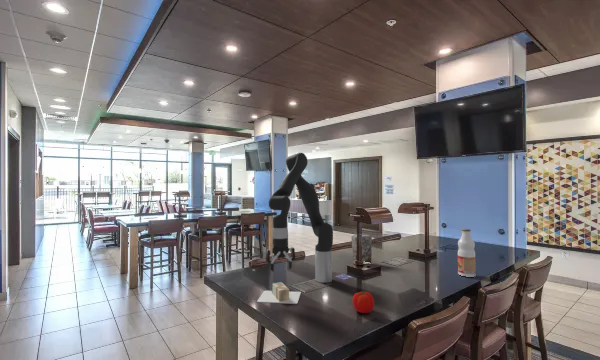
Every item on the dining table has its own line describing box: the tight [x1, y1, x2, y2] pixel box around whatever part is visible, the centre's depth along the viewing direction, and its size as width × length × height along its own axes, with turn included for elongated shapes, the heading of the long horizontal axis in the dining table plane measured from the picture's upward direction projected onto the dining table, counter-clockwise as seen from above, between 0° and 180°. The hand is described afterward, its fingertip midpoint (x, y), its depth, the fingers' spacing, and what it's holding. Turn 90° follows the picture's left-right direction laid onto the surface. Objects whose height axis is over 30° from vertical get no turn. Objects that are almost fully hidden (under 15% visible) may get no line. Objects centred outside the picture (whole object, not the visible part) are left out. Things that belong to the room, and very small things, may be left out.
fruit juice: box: [457, 228, 477, 278], centre depth 183 cm, size 9×9×28 cm
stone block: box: [351, 234, 373, 264], centre depth 212 cm, size 13×7×20 cm, turn 116°
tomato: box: [352, 289, 375, 314], centre depth 131 cm, size 9×10×8 cm
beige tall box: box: [271, 281, 290, 301], centre depth 149 cm, size 5×5×12 cm
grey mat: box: [256, 290, 302, 305], centre depth 149 cm, size 19×15×1 cm
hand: (280, 270), depth 149 cm, fingers open, 8 cm apart
